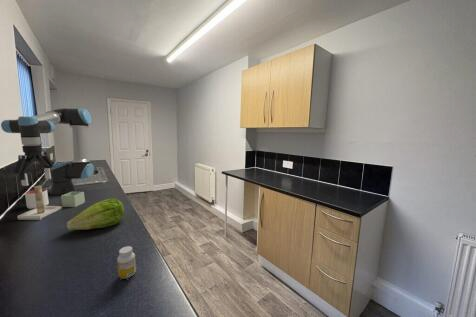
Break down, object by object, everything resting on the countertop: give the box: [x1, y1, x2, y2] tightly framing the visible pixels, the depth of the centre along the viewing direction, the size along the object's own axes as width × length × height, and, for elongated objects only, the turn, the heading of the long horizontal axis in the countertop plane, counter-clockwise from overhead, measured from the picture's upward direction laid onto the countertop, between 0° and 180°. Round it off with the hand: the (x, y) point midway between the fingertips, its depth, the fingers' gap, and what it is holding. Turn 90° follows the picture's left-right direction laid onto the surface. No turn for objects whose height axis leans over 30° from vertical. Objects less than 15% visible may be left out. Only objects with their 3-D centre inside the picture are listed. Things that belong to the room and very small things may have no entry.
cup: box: [24, 188, 49, 210], centre depth 128 cm, size 10×10×10 cm
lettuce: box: [66, 198, 125, 231], centre depth 103 cm, size 14×24×15 cm
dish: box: [17, 205, 63, 221], centre depth 117 cm, size 14×12×2 cm
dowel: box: [33, 185, 45, 214], centre depth 116 cm, size 3×3×16 cm
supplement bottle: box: [117, 245, 137, 278], centre depth 70 cm, size 5×5×10 cm
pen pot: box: [60, 191, 86, 208], centre depth 131 cm, size 8×8×8 cm
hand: (37, 182), depth 115 cm, fingers open, 13 cm apart
